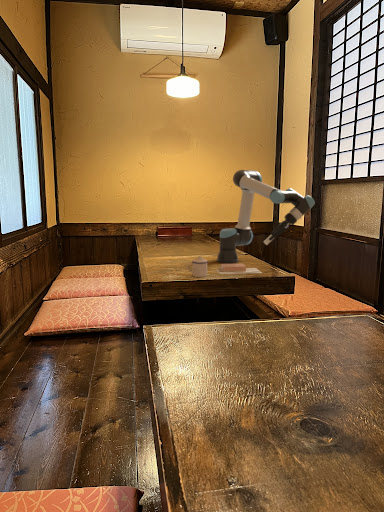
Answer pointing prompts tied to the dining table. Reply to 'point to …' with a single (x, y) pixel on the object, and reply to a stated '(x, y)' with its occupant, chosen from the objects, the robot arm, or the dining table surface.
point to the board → (248, 270)
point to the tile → (233, 267)
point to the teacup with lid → (199, 267)
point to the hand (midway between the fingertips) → (265, 243)
